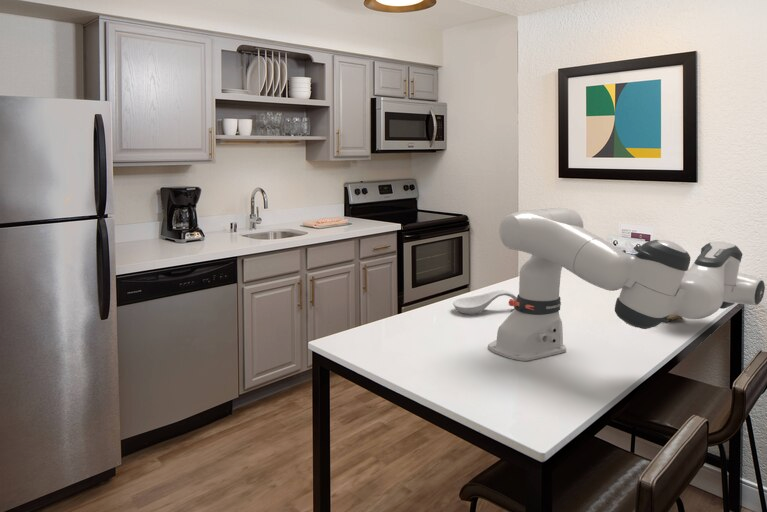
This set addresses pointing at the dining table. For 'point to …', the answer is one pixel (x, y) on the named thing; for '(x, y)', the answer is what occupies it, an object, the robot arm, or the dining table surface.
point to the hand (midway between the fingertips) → (665, 272)
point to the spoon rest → (479, 302)
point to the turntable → (674, 316)
